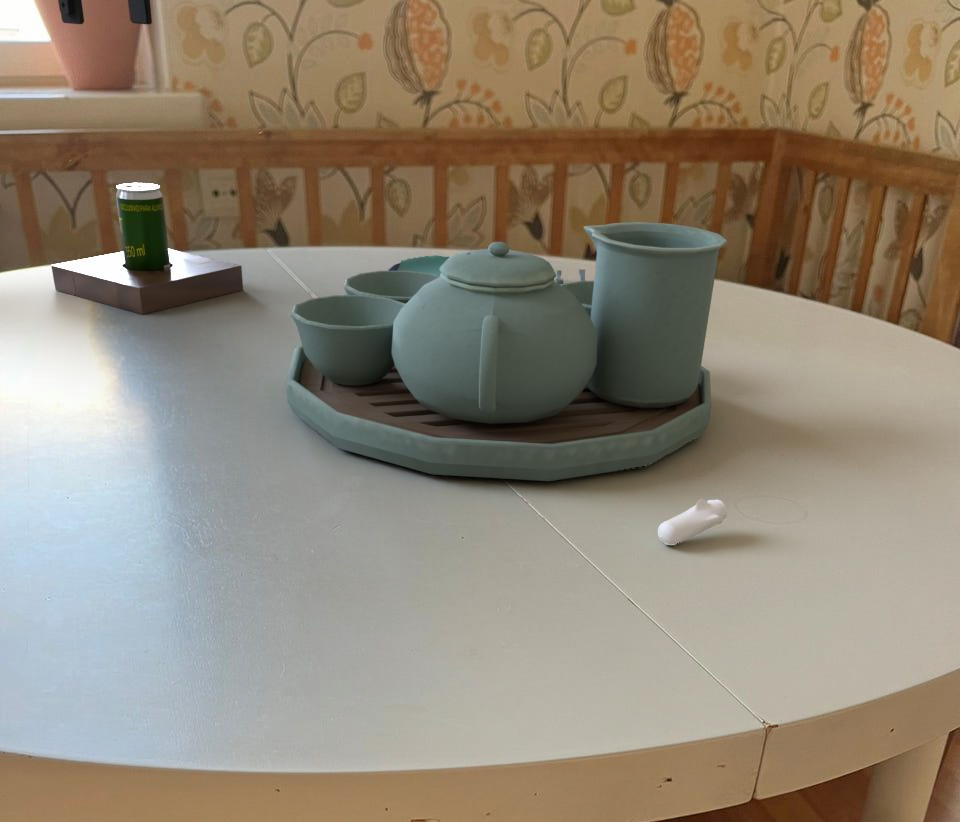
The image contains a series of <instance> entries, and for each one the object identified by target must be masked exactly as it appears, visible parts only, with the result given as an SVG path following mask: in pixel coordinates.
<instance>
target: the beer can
mask: <svg viewBox="0 0 960 822" xmlns="http://www.w3.org/2000/svg"><path fill="white" fill-rule="evenodd" d="M160 187H161V186H160V185H158V184H154V183H145V182H144V183H143V182H132V183H122V184H118V185H116V194H115V201H116V208H117V215H118V223H119V230H120V237H121V245H122V252H123V254H124V261H125V269H128V270H134V271H158V270H164V269H169V268H171V267H170V258H169V249H170V248H169V242H168V234H167V233H168V232H167V225H166V224H167V223H166V215H165V213H166V212H165V206H164V205H165V204H164V197H163V193H162V192H161V188H160Z"/></svg>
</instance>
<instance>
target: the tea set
mask: <svg viewBox="0 0 960 822" xmlns="http://www.w3.org/2000/svg"><path fill="white" fill-rule="evenodd" d="M582 228H583V229H584V231H585V233H586V234H587V236H588V237H589V238H590V240H591V241H592V243H593V245H594V246H593V247H594V248H595V251H596V257H595V269H594V280H585V281H580V280H578V281H573V282H565V283H563V284H561V285H559V284H558V282H559V280H558V279H557V276H556V271H555V270H554V267H553V265H552V264H551V263H550V262H549V261H548V260H546V259H545V258H543V257H541V256H537V255H535V254H532V253H529V252H526V251H525V252H524V251H519V250H513V249H510V246H509V245H508V244H507V243H505V242H503V241H494V242H491V243H490V244H489V245H488V246H487V247H488V248H484V249H482V248H481V249H472V250H466V251H462V252H458V253H455V254H453V255H450V256H448V257H449V258H448V259H447V260H446V261H445V262H444V263H443V265H442V266H441V267H440V272H441V274H440V276H437V275H434V274H430V273H422V272H413V271H388V270H375V271H369V272H360V273H357V274H354V275H352V276H350V277H348V278H345V279H344V283H343V289H344V291H345V293H346V294H334V295H326V296H320V297H319V296H318V297H313V298H312V297H311V298H309V299H306V300H303V301H302V302H299V303H297V304H294V305H293V307H292V311H291V313H290V314H291V315H290V317H291V318H292V320H293V322H294V324H295V326H296V328H297V332H298V334H299V335H298V336H299V338H300V342H301V345H298V346H296V347H295V348H294V350H293V354H292V358H291V362H290V365H289V369H288V372H287V377H286V381H285V391H286V402H287V403H288V405H289V407H290V409H291V411H292V413H293V414H294V415H295V416H297V417H298V418H299V419H301V420H302V421H303V422H304V423H306V424H307V425H308V426H309V427H311V428H312V429H313V430H314V431H316V432H317V433H318V434H319V435H321V436H322V438H324V439H326V440H327V441H328V442H330V443H331V444H332V445H333V446H335V447H336V448H337V449H339V450H343V451H347V452H351V453H354V454H358V455H361V456H364V457H368V458H372V459H375V460H380V461H384V462H385V463H390V464H393V465H398V466H401V467H405V468H408V469H412V470H415V471H419V472H422V473H425V474H429V475H439V476H452V477H453V476H456V477H471V478H472V477H473V478H489V479H506V480H523V481H540V482H552V481H558V480H566V479H573V478H578V477H585V476H591V475H599V474H605V473H612V472H619V471H625V470H624V469H626V470H631V469H630V468H632V469H636V468H635V467H639V466H640V467H639V468H642V467H641V466H645V465H646V466H645V467H648V466H647V465H649V466H651V465H652V464H651V463H653V462H655V461H656V462H658V461H659V460H658V459H660V458H662V457H663V458H665V457H666V456H665V455H667V454H669V453H670V454H672V453H674V452H676V451H677V450H679V449H681V448H682V447H681V446H683V445H684V446H686V445H687V444H686V443H688V442H690V441H691V442H693V441H694V440H693V439H695V438H697V437H698V438H700V437H702V435H703V434H704V432H705V430H706V429H707V427H708V426H709V424H710V417H711V412H712V411H711V410H712V390H711V389H712V387H711V372H710V370H709V369H707V368H705V367H704V366H702V362H703V355H704V350H705V344H706V343H705V342H706V337H707V329H708V324H709V317H710V311H711V305H712V304H711V303H712V298H713V292H714V284H715V278H716V272H717V265H718V261H719V260H718V259H719V253H720V250H721V248H723V247H724V246H725V245H727V244H728V240H727V239H725V238H724V237H723V236H722V235H721V234H720V233H717V232H714V231H710V230H706V229H702V228H698V227H694V226H687V225H680V224H673V223H662V222H661V223H660V222H643V221H634V222H630V221H629V222H614V223H613V222H612V223H607V224H600V225H598V224H597V225H584V226H583V227H582ZM699 436H700V437H699ZM698 438H697V439H698ZM692 440H693V441H692ZM695 440H696V439H695ZM691 442H690V443H691ZM685 444H686V445H685ZM688 444H689V443H688ZM684 446H683V447H684ZM680 447H681V448H680ZM678 448H679V449H678ZM676 449H677V450H676ZM675 450H676V451H675ZM673 451H674V452H673ZM671 452H672V453H671ZM670 454H669V455H670ZM664 456H665V457H664ZM667 456H668V455H667ZM663 458H662V459H663ZM657 460H658V461H657ZM660 460H661V459H660ZM656 462H655V463H656ZM650 464H651V465H650ZM653 464H654V463H653ZM618 470H619V471H618Z"/></svg>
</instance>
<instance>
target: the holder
mask: <svg viewBox="0 0 960 822" xmlns="http://www.w3.org/2000/svg"><path fill="white" fill-rule="evenodd" d="M168 249H169V258H170V267H171V268H169V269H164V270H158V271H134V270H128V269H125V261H124V254H123V251H120V252H114V253H108V254H104V255H98V256H93V257H88V258H82V259H77V260H70V261H66V262H61V263H55V264H51V265H50V267H51V273H52V278H53V284H54V290H55V291H57V292H61V293H64V294H68V295H72V296H76V297H78V298H81V299H86V300H89V301H93V302H97V303H101V304H104V305H107V306H111V307H115V308H117V309H118V308H119V309H122V310H125V311H129V312H132V313H137V314H140V315H146V314H150V313H154V312H159V311H163V310H166V309H171V308H175V307H179V306H184V305H188V304H192V303H196V302H199V301H200V302H201V301H203V300H208V299H212V298H216V297H220V296H225V295H228V294H233V293H237V292H240V291H243V290H244V282H243V269H242V268H243V267H242V265H241V264H236V263H232V262H229V261H224V260H219V259H214V258H210V257H205V256H202V255H197V254H193V253H188V252H184V251H180V250H175V249H172V248H168Z"/></svg>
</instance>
